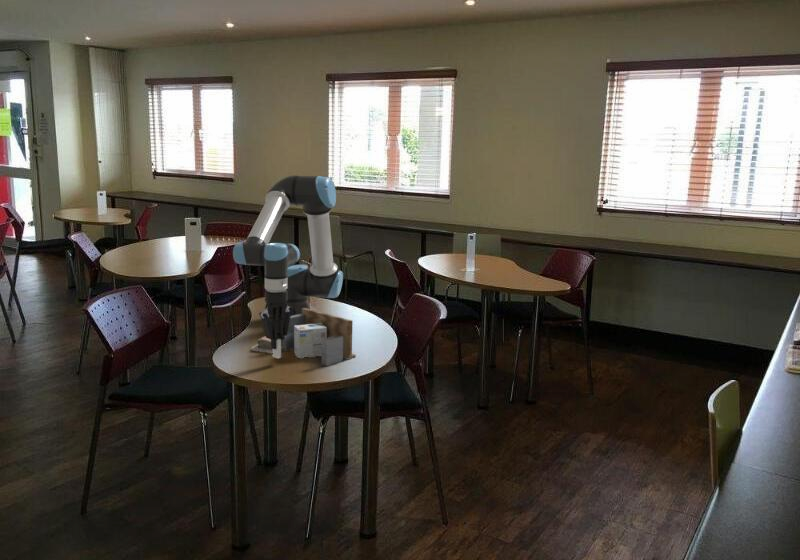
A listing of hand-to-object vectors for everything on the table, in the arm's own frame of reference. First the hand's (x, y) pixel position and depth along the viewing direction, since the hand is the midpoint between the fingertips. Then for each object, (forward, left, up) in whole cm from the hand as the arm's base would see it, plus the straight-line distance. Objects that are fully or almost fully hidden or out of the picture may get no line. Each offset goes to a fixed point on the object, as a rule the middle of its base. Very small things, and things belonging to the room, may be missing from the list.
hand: (276, 357), depth 225 cm
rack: (+1, +18, -3) cm, 19 cm away
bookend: (+12, +15, -3) cm, 19 cm away
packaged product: (-17, +14, -3) cm, 22 cm away
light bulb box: (0, +15, -3) cm, 16 cm away
